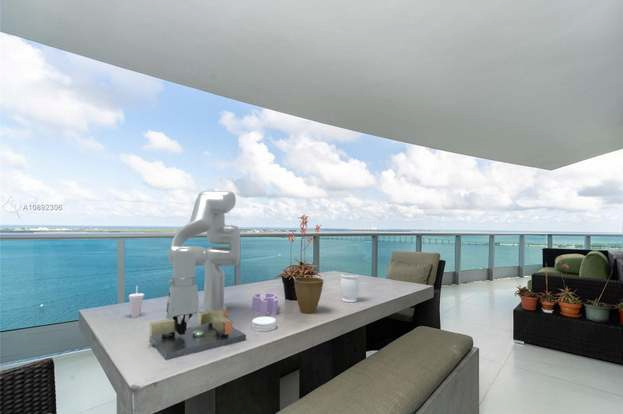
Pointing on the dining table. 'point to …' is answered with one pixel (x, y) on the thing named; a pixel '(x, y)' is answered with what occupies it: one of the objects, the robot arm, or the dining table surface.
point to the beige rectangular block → (210, 316)
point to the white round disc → (263, 324)
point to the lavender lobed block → (265, 304)
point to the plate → (193, 341)
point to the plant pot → (308, 293)
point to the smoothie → (136, 303)
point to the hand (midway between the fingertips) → (181, 333)
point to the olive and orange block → (164, 328)
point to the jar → (349, 287)
